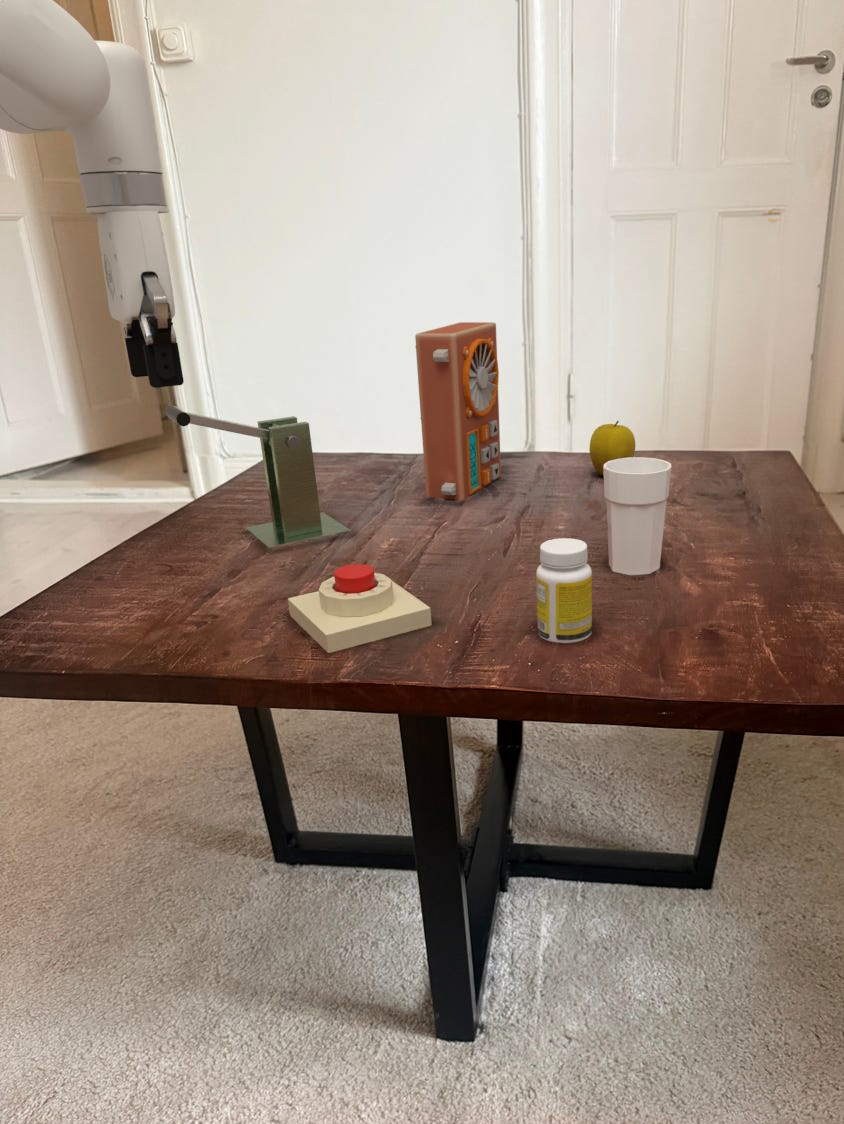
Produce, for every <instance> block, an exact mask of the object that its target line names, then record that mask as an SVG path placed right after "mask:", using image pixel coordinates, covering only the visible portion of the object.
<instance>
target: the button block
mask: <svg viewBox="0 0 844 1124" xmlns="http://www.w3.org/2000/svg"><path fill="white" fill-rule="evenodd" d="M374 575H375V585H376V587H375V588H373V589H372V590H370V591H366V592H362V593H354V594H345V593H340V592H337V591H336V586H335V578H334V576H332V577H330V578H328V579H326V580H324V581H322V582H321V584H320V586H319V588H318V590H317V591H313V592H309V593H305V594H301V595H296V596H291V597H288V598H287V604H288V610H289V612H288V613H289V616H290V617H291V618H292V619H293V620H294V621H295V622H296V623H297V624H298V625H299V626H300V627H301V628H302V629H303V630H304V631H305V632H306V633H307V634H308V635H309V636H310V637H311V638H312V639H313V640H314V641H315V642H316V643H317V644H318V645H319V646H320V647H321V648H322V649H323V650H324V651H325V652H326V653H328V654H331V653H334V652H338V651H342V650H345V649H350V648H353V647H357V646H360V645H361V646H362V645H365V644H367V643H372V642H375V641H380V640H383V639H386V638H390V637H394V636H398V635H401V634H405V633H409V632H413V631H416V630H420V629H424V628H427V627H431V626H432V625H433V624H432V609H431V607H430V606H428V605H427V604H425V603H424V602H423V601H421V599H419V598H417V597H416V596H414V595H413V594H412V593H410V592H409V591H407V589H404V588H403V587H402V586H400V585H398V583H396V582H394V581H393V580H392V578H389V577H388V576H387V575H386V574H383V573H378V572H374Z"/></svg>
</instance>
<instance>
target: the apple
mask: <svg viewBox="0 0 844 1124" xmlns="http://www.w3.org/2000/svg"><path fill="white" fill-rule="evenodd" d="M619 421H620V420H617V421H616V422H615V423H606V424H602V425H600V426H598V427H596V428H595V429H594V431H593V433H592V434H591V437H590V442H589V456H590V460H591V463H592V465H593V467H594V469H595V471H596V472H597V474H598V475H600V476H602V477H604V470H603V467H604V464H605V463H607V462H608V461H611V460H615V459H621V458H629V457H635V456H634V455H635V451H636V439H635V435H634V433H633V431H632V430H631V429H630V428H629V427H628V426H625V425H623V424H622V425H621V424H620V425H619V424H618V423H619Z"/></svg>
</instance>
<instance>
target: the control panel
mask: <svg viewBox="0 0 844 1124" xmlns="http://www.w3.org/2000/svg"><path fill="white" fill-rule="evenodd" d="M414 338H415V339H414V340H415V353H416V355H415V356H416V367H417V369H416V370H417V383H418V384H417V385H418V396H419V397H418V398H419V410H420V411H419V412H420V417H419V419H420V423H421V438H422V439H421V440H422V452H423V467H424V481H425V494H426V498H433V499H443V500H455V501H464V500H466V499H467V498H469V497H470V496H472V495H474V494H476V493H477V492H479V491H480V490H481V489H483V488H484V487H487V486H488V485H490V484H491V483H492V482H494V481H495V480H497V479H499V478H500V477H502V467H501V436H500V433H501V432H500V404H499V401H500V399H499V377H500V376H499V375H500V374H499V373H500V372H499V362H498V346H497V345H498V343H497V341H498V340H497V323H496V322H493V321H491V322H488V321H485V322H483V321H482V322H480V321H479V322H477V321H475V322H474V321H473V322H472V321H471V322H470V321H467V322H464V321H461V322H456V323H452V324H449V325H445V326H441V327H437V328H434V329H433V328H432V329H429V330H425V331H422V332H421V331H420V332H418V333H416V334H415V336H414Z"/></svg>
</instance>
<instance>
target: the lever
mask: <svg viewBox="0 0 844 1124" xmlns="http://www.w3.org/2000/svg"><path fill="white" fill-rule="evenodd" d="M165 415H166V416H167V418H169V419H170V420H171V421H173V422H174V423H176V424H177V425H179V426H181V427H187V426H189V425H190V424H191V425H195V426H201V427H205V428H208V429H209V428H210V429H213V430H214V429H215V430H220V431H225V432H229V433H235V434H239V435H245V436H249V437H252V438H253V437H254V438H258V439H260V438H263V439H268V440H269V445H271V441H270V434H269V430H268V429H263V428H259V427H258V426H253V425H248V424H245V423H244V424H243V423H240V422H234V421H229V420H225V419H221V418H215V417H211V416H205V415H200V414H196V413H191V412H186V411H184V410H182V409H181V408H179V407H178V406H175V405H170V406H168V407H167V408H166V410H165ZM273 426H280V425H277V424H272V427H273Z"/></svg>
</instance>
